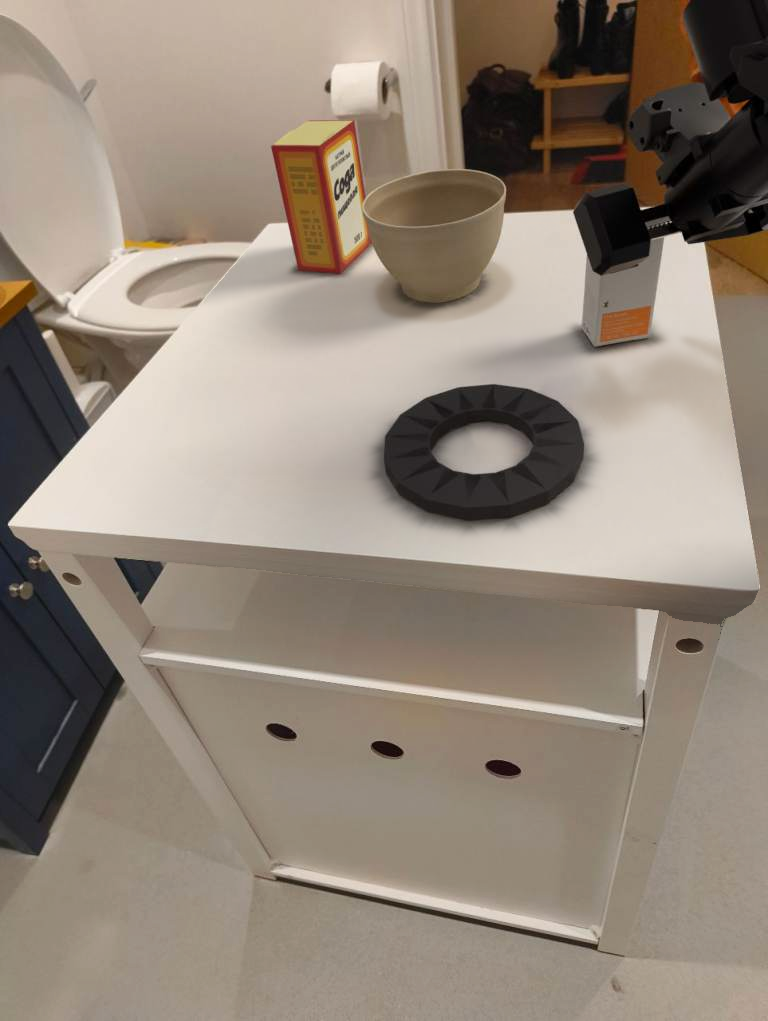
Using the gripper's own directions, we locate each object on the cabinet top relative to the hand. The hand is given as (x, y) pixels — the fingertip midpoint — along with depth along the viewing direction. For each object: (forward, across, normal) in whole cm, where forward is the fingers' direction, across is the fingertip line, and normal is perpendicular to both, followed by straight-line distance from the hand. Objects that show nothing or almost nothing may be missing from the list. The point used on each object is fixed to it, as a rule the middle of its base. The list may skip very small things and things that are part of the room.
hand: (643, 251), depth 68 cm
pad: (+1, +20, +13) cm, 24 cm away
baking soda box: (+35, +21, -20) cm, 46 cm away
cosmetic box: (+10, 0, +5) cm, 11 cm away
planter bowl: (+24, +12, -9) cm, 28 cm away
